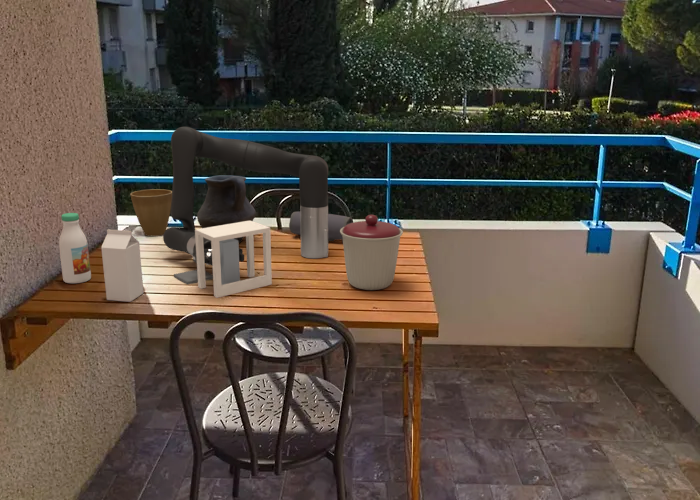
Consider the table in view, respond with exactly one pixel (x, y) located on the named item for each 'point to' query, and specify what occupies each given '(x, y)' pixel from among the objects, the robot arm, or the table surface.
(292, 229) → the bluetooth speaker
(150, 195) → the plant pot
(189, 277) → the mat
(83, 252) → the milk bottle
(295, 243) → the table surface
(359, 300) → the table surface
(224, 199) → the pitcher
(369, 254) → the canister
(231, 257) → the blank
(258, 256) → the table surface
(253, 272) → the rack
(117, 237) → the milk carton
